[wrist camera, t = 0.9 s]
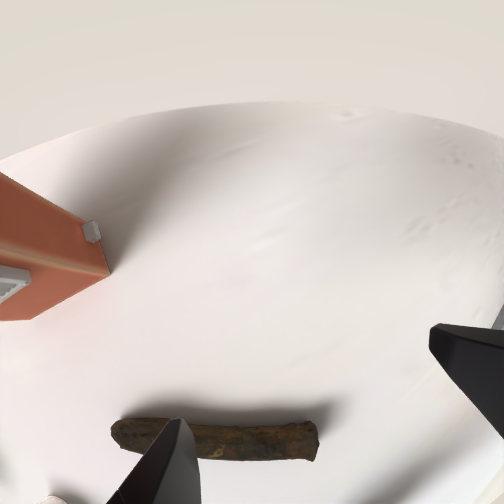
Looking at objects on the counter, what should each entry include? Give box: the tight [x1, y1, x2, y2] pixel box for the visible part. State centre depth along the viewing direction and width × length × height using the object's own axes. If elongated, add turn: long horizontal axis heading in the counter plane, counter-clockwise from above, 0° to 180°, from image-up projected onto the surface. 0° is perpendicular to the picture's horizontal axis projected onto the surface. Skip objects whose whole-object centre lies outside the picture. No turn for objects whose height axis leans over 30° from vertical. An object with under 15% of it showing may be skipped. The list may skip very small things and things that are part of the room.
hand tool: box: [111, 418, 319, 462], centre depth 20 cm, size 19×4×5 cm, turn 86°
